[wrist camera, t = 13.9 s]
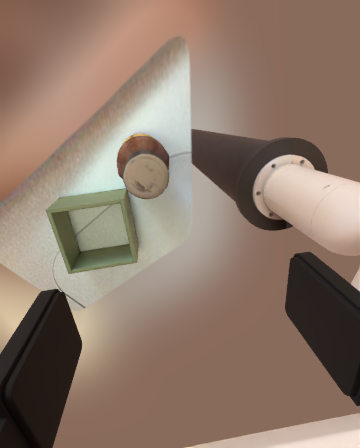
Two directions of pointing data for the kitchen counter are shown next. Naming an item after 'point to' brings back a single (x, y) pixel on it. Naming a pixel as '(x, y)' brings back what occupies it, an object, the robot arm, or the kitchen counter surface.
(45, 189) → the kitchen counter surface
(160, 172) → the sauce bottle
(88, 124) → the kitchen counter surface
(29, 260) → the kitchen counter surface
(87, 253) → the caddy
